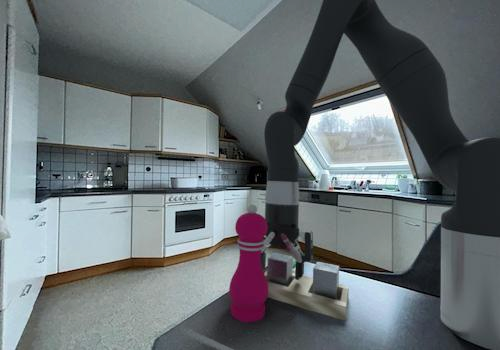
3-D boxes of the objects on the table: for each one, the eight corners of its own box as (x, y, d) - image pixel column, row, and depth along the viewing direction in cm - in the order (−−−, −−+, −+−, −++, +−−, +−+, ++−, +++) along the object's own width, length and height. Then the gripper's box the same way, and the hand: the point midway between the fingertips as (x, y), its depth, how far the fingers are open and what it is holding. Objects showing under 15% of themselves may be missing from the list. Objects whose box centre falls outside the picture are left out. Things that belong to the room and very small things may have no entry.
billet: (338, 300, 44) (339, 265, 45) (336, 310, 40) (336, 273, 41) (316, 294, 46) (317, 261, 47) (312, 304, 43) (313, 268, 43)
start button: (295, 268, 57) (295, 259, 57) (292, 272, 54) (292, 262, 55) (285, 266, 58) (285, 257, 58) (281, 269, 56) (282, 260, 56)
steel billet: (291, 287, 49) (292, 256, 49) (285, 296, 45) (287, 262, 45) (273, 282, 51) (274, 253, 51) (266, 290, 47) (267, 258, 47)
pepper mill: (268, 328, 36) (273, 207, 36) (225, 326, 36) (231, 205, 37) (266, 304, 43) (270, 203, 44) (230, 302, 43) (234, 202, 44)
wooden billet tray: (348, 300, 46) (348, 286, 46) (345, 324, 38) (345, 306, 38) (269, 279, 54) (270, 267, 54) (253, 295, 46) (254, 281, 46)
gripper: (317, 203, 49) (314, 275, 48) (260, 198, 56) (257, 262, 55) (310, 205, 42) (307, 289, 42) (246, 200, 49) (243, 272, 48)
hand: (279, 274), depth 48 cm, fingers open, 8 cm apart
